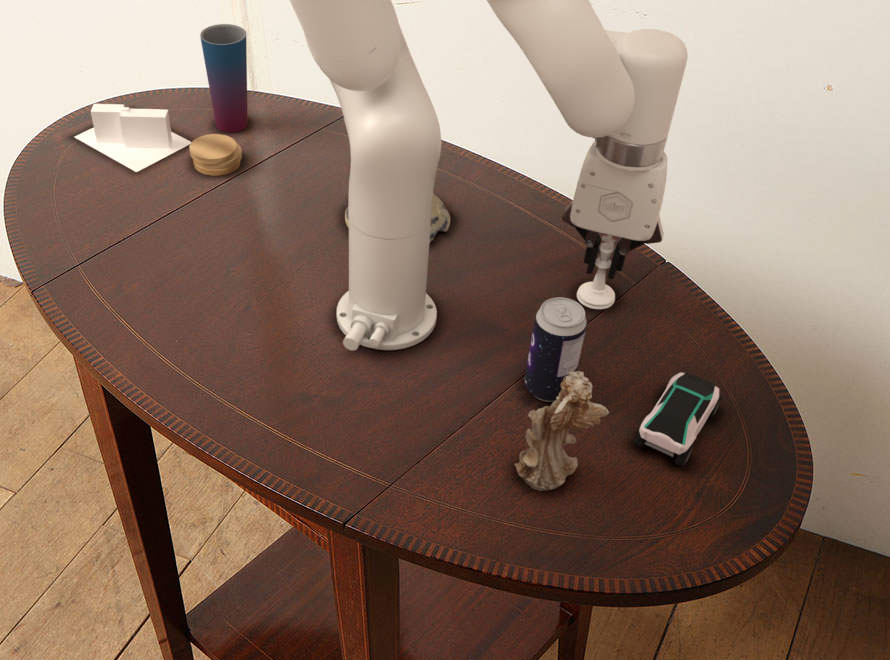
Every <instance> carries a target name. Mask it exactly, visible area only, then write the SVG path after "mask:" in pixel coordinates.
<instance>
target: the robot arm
mask: <svg viewBox="0 0 890 660" xmlns="http://www.w3.org/2000/svg"><path fill="white" fill-rule="evenodd" d="M486 1H487V3H488V5H489V6H490V8H491V10H492V11H493V13H494V14H495V16H496V18H497V19H498V20H499V22H500V23H501V24H502V26H503V27H504V28H505V29H506V31H507V32H508V33H509V34H510V36H511V37H512V38H513V40H514V41H515V43H516V44H517V45H518V47H519V48H520V50H521V51H522V52H523V54H524V55H525V57H526V59H527V61H528V62H529V64H531V67H532V68H533V70H534V71H535V73H536V74H537V76H538V78H539V80H540V81H541V83H542V85H543V86H544V88H545V90H546V91H547V93H548V94H549V96H550V97H551V99H552V101H553V102H554V104H555V106H556V108H557V109H558V111H559V112H560V114H561V116H562V118H563V120H564V121H565V123H566V124H567V126H568V127H569V128H570V129H571V130H572V131H574V133H576V134H578V135H581V136H583V137H587V138H591V139H594V141H593V142H592V144H591V145H590V147H589V148H588V150H587V152H586V155H585V157H584V159H583V163H582V165H581V168H580V171H579V176H578V180H577V183H576V187H575V191H574V194H573V199H572V200H571V202H570V203H569V204H568V205H567V206H566V208H565V210H563V213H562V215H561V220H562V221H563V222H564V223H566V224H567V225H569V226H570V227H572V228H574V229H575V230H576V231H577V233H578V234H579V235H580V237H581V238H582V239H583V240H584V244H585V247H586V249H585V253H584V258H583V264H587V268H586V274H587V275H593V272H594V270H595V267H596V265H595V262H596V259H597V258H599V257H598V256H599V254H600V253H599V245H600V244H602V236H601V234H603V235H606V236H607V235H612V237H617V238H621V239H619V240H618V241H616V245H615V251H614V253H613V254H612V258H611V267H610V268H609V271H608V275H607V278H608V279H609V280H612V281H614V278H615V275H616V272H620V273H621V272H622V271H623V268H624V264H625V261H626V256H627V255H628V254H629V252H631V251H633V250H635V249H637V248H639V247H641V246H643V245H644V244H646V245H649V244H657V243H659V244H660V243H661V242H662V241H663V239H664V229H663V225H662V220H661V216H660V214H661V210H662V205H663V201H664V196H665V191H666V183H667V176H668V156H667V153H666V152H665V149H666V144H667V141H668V136H669V133H670V129H671V125H672V121H673V118H674V113H675V110H676V105H677V102H678V98H679V94H680V91H681V87H682V82H683V79H684V74H685V71H686V67H687V62H688V58H689V57H688V55H689V54H688V48H687V46H686V43H684V41H683V40H682V39H681V38H679V37H678V36H677V35H675V34H673V33H671V32H668V31H664V30H660V29H653V28H642V29H641V28H640V29H635V30H633V31H630V32H624V31H614V30H608V29H607V30H606V29H605V28H604V26H603V24H602V22H601V20H600V19H599V16H598V15H597V13H596V11H595V10H594V7H593V6H592V4H591V2H590V0H486ZM289 2H290V5H291V6H292V9H293V11H294V13H295V15H296V17H297V19H298V22H299V24H300V26H301V28H302V31H303V33H304V37H305V41H306V44H307V46H308V50H309V52H310V54H311V56H312V58H313V60H314V62H315V63H316V65H317V66H318V68H319V69H320V71H322V73H323V74H324V75H325V76H326V77H327V79H329V81H330V84H331V86H332V88H333V91H334V92H335V95H336V97H337V99H338V103H339V105H340V109H341V113H342V116H343V121H344V125H345V128H346V132H347V136H348V141H349V149H350V169H349V178H348V197H347V198H348V200H347V201H348V206H347V207H348V216H349V228H348V291H346V292H345V293H344V294H343V295H342V296H341V298H340V299H339V301H338V302H337V306H336V323H337V325H338V328H339V330H340V331H341V332H342V333H343V335H345V336H344V338H343V340H342V345H343V346H344V348H345V349H346V350H348V351H356V350H358V348H359V347H360V346H362V347H366V348H369V349H374V350H380V351H397V350H403V349H407V348H410V347H414V346H416V345H417V344H420V343H421V342H423V341H424V340H426V339H427V338H428V337H429V336H430V335H431V333H433V331H434V329H435V327H436V324H437V319H438V318H437V316H438V315H437V314H438V311H437V307H436V304H435V302H434V300H433V299H432V297H431V296H430V295H428V293H427V284H428V283H427V282H428V281H427V280H428V271H429V270H428V267H429V256H430V255H429V253H430V243H431V242H430V227H431V209H432V197H433V193H434V189H435V188H434V187H435V180H436V174H437V171H438V167H439V162H440V158H441V152H442V133H441V132H442V131H441V126H440V123H439V119H438V116H437V113H436V110H435V108H434V105H433V103H432V100H431V98H430V95H429V93H428V90H427V88H426V87H425V85H424V82H423V80H422V78H421V75H420V73H419V70H418V67H417V65H416V64H415V61H414V59H413V56H412V53H411V51H410V48H409V46H408V43H407V41H406V38H405V36H404V33H403V31H402V28H401V25H400V22H399V18H398V15H397V13H396V9H395V7H394V4H393V2H392V0H289ZM429 242H430V243H429Z"/></svg>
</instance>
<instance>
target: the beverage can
mask: <svg viewBox="0 0 890 660" xmlns="http://www.w3.org/2000/svg"><path fill="white" fill-rule="evenodd" d="M587 327H588V321H587V318H586V310H585V309H584V307H583V306H582V304H581V303H580V302H577V301H576V300H574V299H571V298H567V297H561V296H560V297H557V296H556V297H552V298H549V299H546V300H545V301H544V302H543V303H542V304H541V305H540V308H539V309H538V310H537V312H536V313H535V316H534V321H533V328H532V333H531V334H532V335H531V338H530V339H531V340H530V345H529V351H528V356H527V362H526V369H525V374H524V381H523V383H524V384H523V385H524V387H525V388H526V390H527V392H528V393H529V394H531V395H532V396H533V397H534V398H535V399H538V400H540V401H542V402H547V403H553V402H554V401H555V400H556V397H558V396H559V393H560V392H561V390H562V388H561V383H562V381H563V379H564V377H565V376H568V375H569V374H568V373H569V372H570V371H574V372H576V371H578V367H579V362H580V358H581V354H582V349H583V345H584V341H585V335H586V331H587Z"/></svg>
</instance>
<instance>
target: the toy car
mask: <svg viewBox="0 0 890 660" xmlns="http://www.w3.org/2000/svg"><path fill="white" fill-rule="evenodd" d="M722 398H723V397H722V396H721V395H720V388H719V387H718V386H716V385H715V383H713V382H711V381H709V380H708V379H705V378H702V377H700V376H698V375H695V374H693V373H689V372H679V373H677V374H675V375H673V376H672V377H671V378H670V379H669V381H668V383H667V385H666V388H665V389H664V391H663V393H662V395H661V396H660V397H659V399H658V400H657V402H656V404H655V405H654V407H653V409H652V410H651V411H650V413H649V414H648V415H646V416H645V418H644V419H643V420H642V422H641V424H640V426H639V428H638V430H637V432H636V434H635V435H634V439H633V445H634V446H635V447H637V448H641V449H642V448H643V447H644V446H648V447H650V448H652V449H655V450H656V451H658V452H661V453H663V454H664V455H667V456H670V457H671V458H674V456H675V454H676V457H675V461H674V464H675V465H677V466H679V467H685V465H686V464H687V462H688V460H689V459H690V456H691V455H692V454H691V453H692V452H693V450H694V445H695V444H694V442H695V440H696V439H697V436H698V434H700V432H701V430H702V428H703V427H704V426H705V424H706V422H707V420H708V418H709V419H713V418H714V416H715V415H716V412H717V410H718V408H719V407H720V405H721V401H722Z"/></svg>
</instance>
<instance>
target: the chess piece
mask: <svg viewBox="0 0 890 660" xmlns="http://www.w3.org/2000/svg"><path fill="white" fill-rule="evenodd" d="M601 238H602V239H601V241H603V242H601V244H600V245H599V253H598V254H599V257H597V259H596V262H595V267H597V269H596V270H597V271H596V273H595V275H594V278H593V280H592V281H587V282H584V283H582V284H581V285H579V287H578V289H577V292H576V299H577V300H578V302H579V303H580V304H581V305H583V306H585V307H587V308H588V309H593V310H605V309H609V308H610V307H612V306H613V305H614V303H615V301H616V293H615V291H614V290H613V288H612V287H611V286H610V285H608V284H606V277H607V269H610V267H611V262H612V259H611V257H612V256H613V254H614V251H615V248H616V246H615V244H616V243H617V239H613V236H612V235H607V234H606V235H603V236H601Z"/></svg>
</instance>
